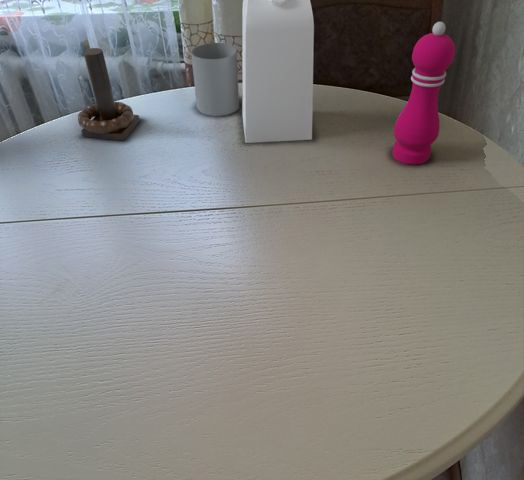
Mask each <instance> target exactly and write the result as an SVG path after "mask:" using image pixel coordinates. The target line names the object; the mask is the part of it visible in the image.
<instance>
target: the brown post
mask: <svg viewBox="0 0 524 480" xmlns="http://www.w3.org/2000/svg"><path fill="white" fill-rule="evenodd" d="M83 57H84V61H85V65H86V69H87V73H88V76H89V80H90V85H91V88H92V92H93V95H94V99H95V103H97V107H98V111H99V115H98V116H95V117H93V118H92V119H91V120H93V121H106V120H112V119H115V118H117V117H120V116H121V114H117V110H116V105H115V102H116V101H115V97H114V94H113V89H112V84H111V80H110V76H109V72H108V67H107V64H106V59H105V55H104V51H103V49H102V48H98V47H92V48H88V49H84V51H83ZM140 119H141V118H140V115H139V114H134V119H133V121H132V122H131V123H130V124H129V125H128V126H127V127H126V128H123V129H121V130H119V131H116V132H110V133H93V132H89V131H87V130H85V129H83V128H81V134H82V137H83V138H91V139H102V140H112V141H121V142H123V141H124V140H126V138H127V137H128V136H129V135H130V133H131V132H132V131H134V129H135V128H136V126H137V125H138V124H139V123H140V122H141V120H140Z"/></svg>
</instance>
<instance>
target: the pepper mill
mask: <svg viewBox="0 0 524 480" xmlns="http://www.w3.org/2000/svg"><path fill="white" fill-rule="evenodd" d="M446 29H447V28H446V24H445V23H444V22H443V21H437V22H436V23H434V25H433V26H432V30H431V31H432V33H431V32H430V33H427V34H425V35H423V36H422V37H420V38H419V40H417V42H416V43H415V45H414V47H413V50H412V54H411V61H412V64H413V66H414V68H413V69H412V71H411V73H412V75H411V77H410V80H411V82H412V87H411V92H410V95H409V98H408V101H407V103H406V104H405V106H404V107H403V109H402V111H401V112H400V113H399V114H398V117H397V119H396V122H395V124H394V126H393V127H394V128H393V136H394V138H395V140H396V141H395V142H394V143H393V147H392V153H391V154H392V157H393V159H395V160H396V161H397V162H399V163H402V164H405V165H412V166H413V165H414V166H416V165H422V164H425V163H426V162H427V161H429V159H430V157H431V153H432V149H433V147H432V144H433V143H435V142H436V141H437V139H438V137H439V134H440V128H441V127H440V125H441V123H440V116H439V115H440V114H439V109H438V97H439V92H440V89H441V86H442V85H443V84H444V83H445V80H446V79H445V78H446V76H447V72H446V70H447V69H448V68H449V67H450V66H451V65H452V64H453V62H454V58H455V54H456V46H455V42H454V41H453V39H452V38H451V37H450V36H449V35H448V34H445V31H446Z"/></svg>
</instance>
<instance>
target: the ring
mask: <svg viewBox="0 0 524 480" xmlns="http://www.w3.org/2000/svg"><path fill="white" fill-rule="evenodd" d="M115 105H116V110H117V114H121V116H120V117H117V118H115V119H112V120H106V121H93V120H92V119H93V118H94V117H95V116H98V115H99V111H98V107H97V103H96V102H94V103H92V104H90V105H87V106H85V107H84V108H83V109H82V110H81V111H79V113H78V114H77V122H78V125H79V127H80V128H81V129H85V130H87V131H89V132H93V133H110V132H116V131H119V130H121V129H123V128H126V127H127V126H128V125H129V124H130V123H131V122H132V121H133V119H134V115H135V113H134V110H133V108H132V107H131V106H130V105H128V104H126V103H123V102H121V101H115Z"/></svg>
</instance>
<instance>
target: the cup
mask: <svg viewBox="0 0 524 480" xmlns="http://www.w3.org/2000/svg"><path fill="white" fill-rule="evenodd" d="M190 56H191V65H192V66H191V67H192V75H193V82H194V92H195V101H196V108H197V111H198V112H199V113H200V114H204V115H205V116H206V115H207V116H213V117H221V116H228V115H231V114H234V113H236V111H238V110H239V109H240V94H239V93H240V92H239V72H238V71H239V70H238V69H239V68H238V51H237V48H236V46H234V45H232V44H228V43H226V42H211V43H210V42H207V43H204V44H199V45H197V46H195V47H193V48H192V49H191V52H190Z"/></svg>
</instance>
